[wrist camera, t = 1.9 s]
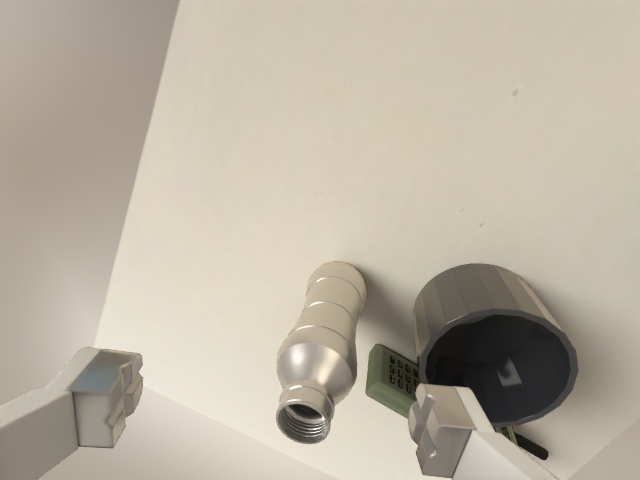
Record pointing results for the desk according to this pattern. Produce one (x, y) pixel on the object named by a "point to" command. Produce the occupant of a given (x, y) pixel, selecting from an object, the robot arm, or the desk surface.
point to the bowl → (493, 343)
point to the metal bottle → (320, 353)
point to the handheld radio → (400, 386)
